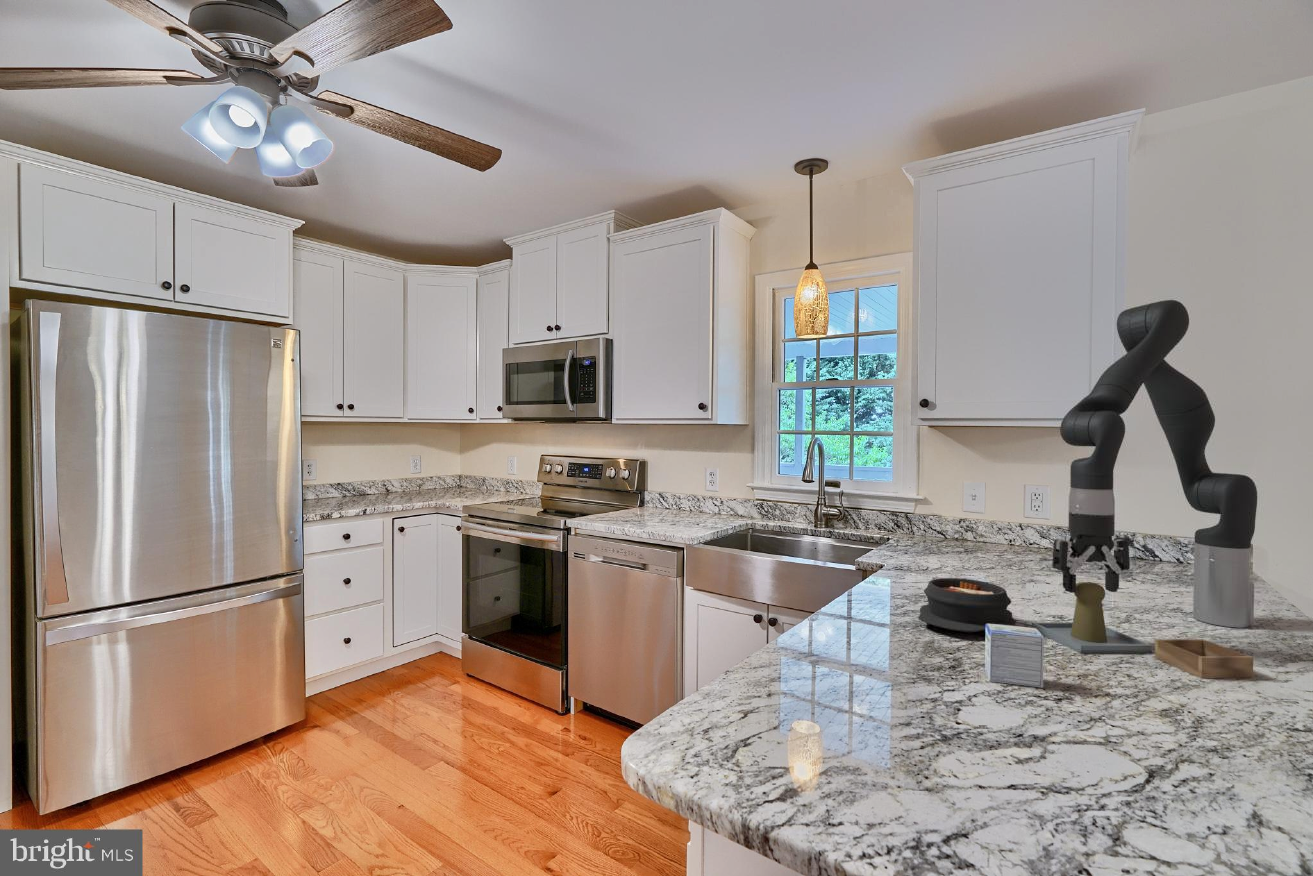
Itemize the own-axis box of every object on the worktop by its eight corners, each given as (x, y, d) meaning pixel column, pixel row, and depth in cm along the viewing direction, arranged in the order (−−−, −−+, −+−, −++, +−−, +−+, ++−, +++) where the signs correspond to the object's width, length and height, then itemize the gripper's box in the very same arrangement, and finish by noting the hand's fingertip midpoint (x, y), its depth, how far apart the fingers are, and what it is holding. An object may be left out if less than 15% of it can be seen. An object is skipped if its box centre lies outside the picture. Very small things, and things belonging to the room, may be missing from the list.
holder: (1202, 657, 113) (1202, 639, 113) (1252, 677, 104) (1253, 657, 104) (1154, 658, 112) (1155, 639, 112) (1201, 678, 103) (1201, 657, 103)
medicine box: (1036, 678, 102) (1037, 627, 102) (1043, 689, 98) (1044, 636, 98) (984, 672, 105) (984, 622, 105) (989, 682, 101) (990, 630, 100)
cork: (1113, 643, 118) (1114, 587, 118) (1079, 641, 119) (1080, 585, 119) (1097, 633, 124) (1097, 580, 124) (1064, 631, 125) (1065, 578, 125)
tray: (1095, 629, 129) (1095, 622, 129) (1151, 653, 115) (1152, 645, 115) (1031, 629, 128) (1031, 622, 128) (1080, 653, 114) (1080, 645, 114)
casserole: (947, 604, 147) (948, 570, 147) (1033, 623, 133) (1034, 585, 133) (896, 624, 131) (897, 586, 131) (988, 648, 117) (989, 605, 116)
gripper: (1110, 508, 125) (1109, 586, 126) (1044, 508, 125) (1043, 587, 125) (1141, 513, 118) (1140, 596, 118) (1070, 513, 117) (1069, 597, 117)
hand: (1090, 591), depth 121 cm, fingers open, 8 cm apart
